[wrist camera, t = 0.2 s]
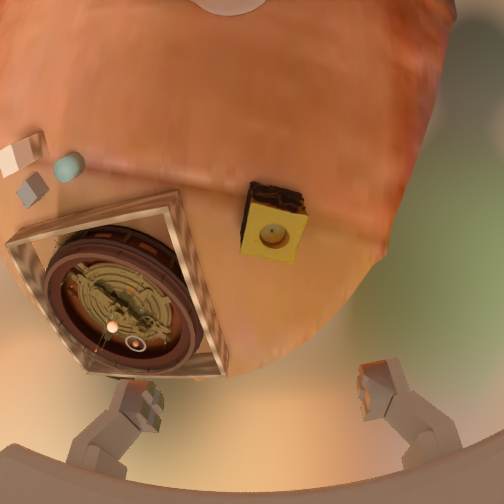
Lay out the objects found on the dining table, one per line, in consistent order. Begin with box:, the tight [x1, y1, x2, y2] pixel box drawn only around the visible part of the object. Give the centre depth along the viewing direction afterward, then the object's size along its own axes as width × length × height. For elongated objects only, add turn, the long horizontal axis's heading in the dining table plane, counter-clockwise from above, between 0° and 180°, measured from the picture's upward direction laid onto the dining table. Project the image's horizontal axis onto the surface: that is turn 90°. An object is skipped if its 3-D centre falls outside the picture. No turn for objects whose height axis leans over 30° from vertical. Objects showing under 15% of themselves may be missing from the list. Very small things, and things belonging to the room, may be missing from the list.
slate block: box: [16, 173, 49, 209], centre depth 53 cm, size 5×5×5 cm
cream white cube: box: [0, 137, 35, 178], centre depth 43 cm, size 6×6×6 cm
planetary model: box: [44, 226, 203, 375], centre depth 67 cm, size 43×45×12 cm
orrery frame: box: [5, 190, 229, 378], centre depth 68 cm, size 48×46×8 cm
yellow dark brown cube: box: [240, 182, 308, 264], centre depth 54 cm, size 10×10×10 cm
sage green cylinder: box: [54, 152, 85, 183], centre depth 51 cm, size 5×5×5 cm
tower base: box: [28, 131, 50, 161], centre depth 48 cm, size 6×6×6 cm
